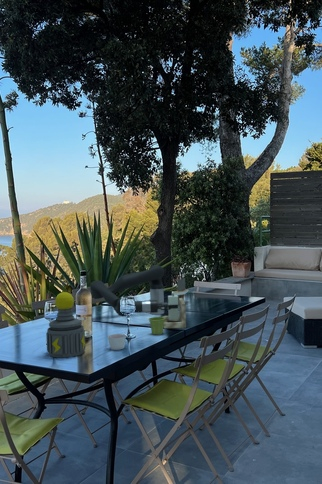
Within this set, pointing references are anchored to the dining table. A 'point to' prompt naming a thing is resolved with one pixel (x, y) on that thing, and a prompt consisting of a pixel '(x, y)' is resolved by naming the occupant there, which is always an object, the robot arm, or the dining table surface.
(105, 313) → the dining table surface
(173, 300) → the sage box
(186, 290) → the architectural model
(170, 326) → the beige l-shaped stand
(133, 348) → the dining table surface
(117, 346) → the candle
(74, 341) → the decorative lamp
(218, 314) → the dining table surface
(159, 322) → the plant pot
